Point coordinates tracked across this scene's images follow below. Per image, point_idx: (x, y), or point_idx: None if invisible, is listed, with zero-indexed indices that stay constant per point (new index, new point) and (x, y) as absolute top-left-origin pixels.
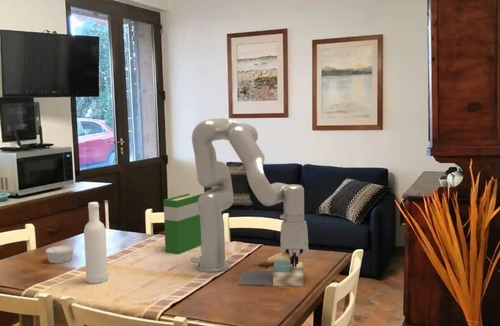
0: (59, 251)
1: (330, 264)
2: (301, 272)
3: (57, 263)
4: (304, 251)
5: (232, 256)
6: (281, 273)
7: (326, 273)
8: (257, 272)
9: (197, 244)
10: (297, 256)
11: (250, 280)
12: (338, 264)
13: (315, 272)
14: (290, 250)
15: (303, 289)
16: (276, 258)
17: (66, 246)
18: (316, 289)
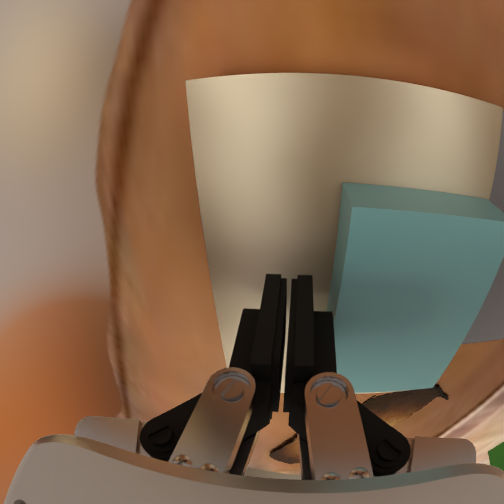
0: None
1: (143, 391)
2: (213, 174)
3: None
4: (131, 420)
5: (471, 428)
6: (431, 144)
7: (123, 315)
8: (486, 319)
9: (502, 448)
10: (235, 370)
11: None
12: (118, 385)
13: (175, 332)
14: (340, 458)
15: (213, 14)
16: None
17: None
18: (123, 38)
